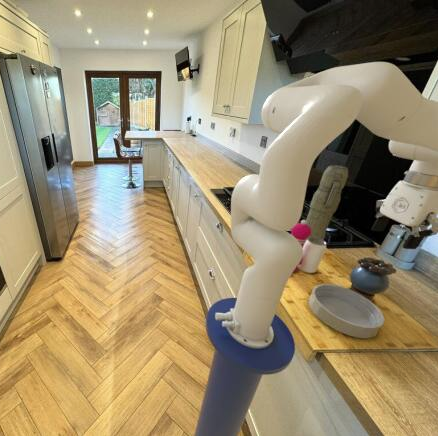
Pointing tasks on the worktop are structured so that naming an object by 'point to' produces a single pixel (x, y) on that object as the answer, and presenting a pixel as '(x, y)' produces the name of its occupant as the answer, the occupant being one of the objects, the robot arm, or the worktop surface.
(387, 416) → the worktop surface
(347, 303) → the bowl
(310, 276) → the worktop surface
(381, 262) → the chocolate capsule cluster
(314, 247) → the can
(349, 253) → the worktop surface
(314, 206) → the moai statue figurine
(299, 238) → the pepper mill
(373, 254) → the worktop surface
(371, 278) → the ball stand
